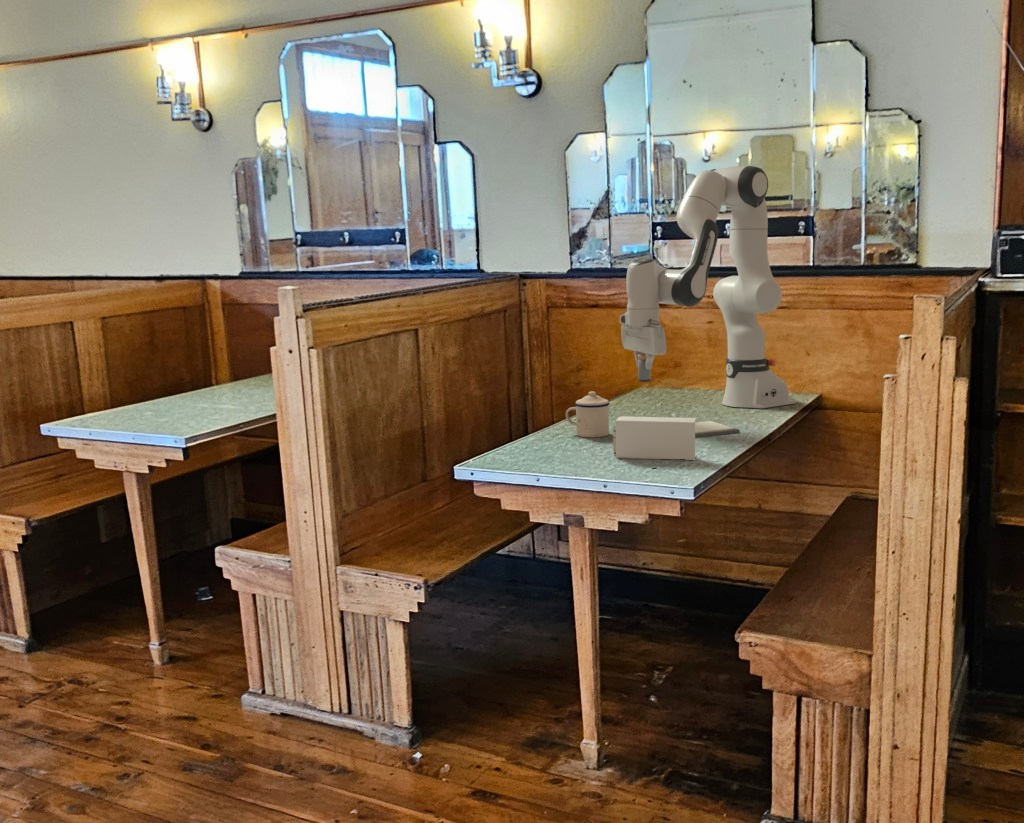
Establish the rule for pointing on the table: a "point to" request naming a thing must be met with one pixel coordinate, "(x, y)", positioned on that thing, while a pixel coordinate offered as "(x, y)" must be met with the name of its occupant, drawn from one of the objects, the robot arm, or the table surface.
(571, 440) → the table surface
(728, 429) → the whiteboard
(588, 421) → the teacup with lid
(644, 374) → the cylinder
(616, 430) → the cigarette display
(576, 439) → the table surface
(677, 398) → the table surface
